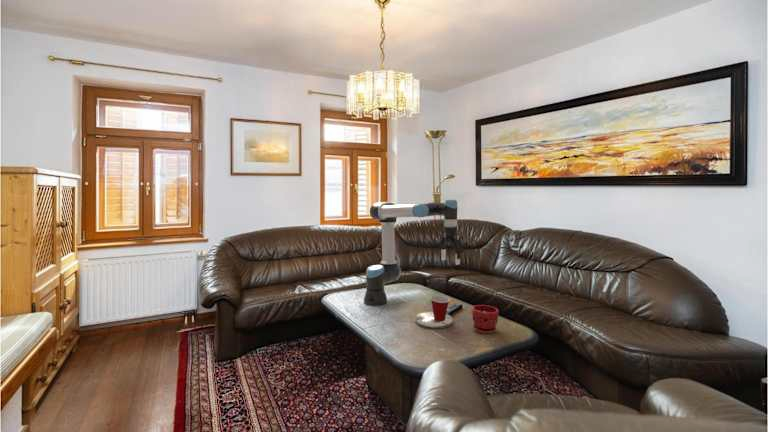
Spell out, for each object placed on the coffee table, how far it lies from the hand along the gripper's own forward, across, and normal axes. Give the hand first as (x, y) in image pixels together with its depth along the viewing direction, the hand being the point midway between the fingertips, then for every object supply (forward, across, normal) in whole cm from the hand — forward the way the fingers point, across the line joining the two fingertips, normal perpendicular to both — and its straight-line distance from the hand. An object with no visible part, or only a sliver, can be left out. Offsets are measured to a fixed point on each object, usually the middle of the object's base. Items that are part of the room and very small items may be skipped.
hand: (450, 262), depth 217 cm
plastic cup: (+28, -12, +16) cm, 34 cm away
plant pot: (+31, -30, 0) cm, 43 cm away
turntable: (+31, -8, +17) cm, 36 cm away
